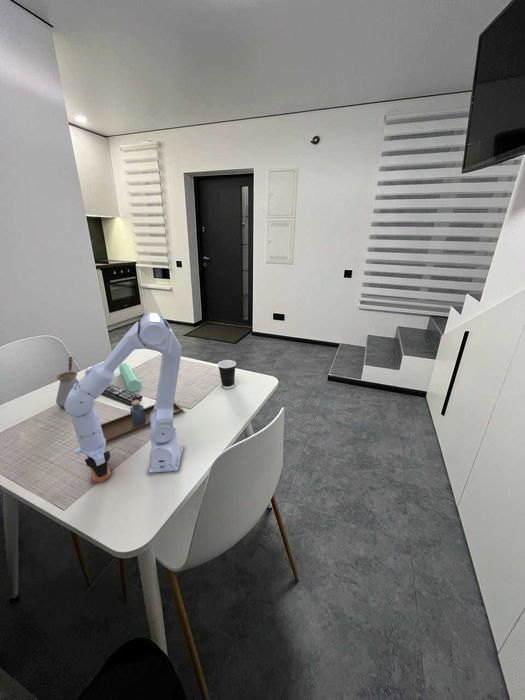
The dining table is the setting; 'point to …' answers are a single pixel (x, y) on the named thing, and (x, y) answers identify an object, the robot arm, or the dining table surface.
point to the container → (129, 378)
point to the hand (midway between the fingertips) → (100, 469)
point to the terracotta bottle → (100, 477)
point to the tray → (129, 424)
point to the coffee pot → (66, 384)
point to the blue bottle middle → (137, 413)
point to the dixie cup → (227, 372)
